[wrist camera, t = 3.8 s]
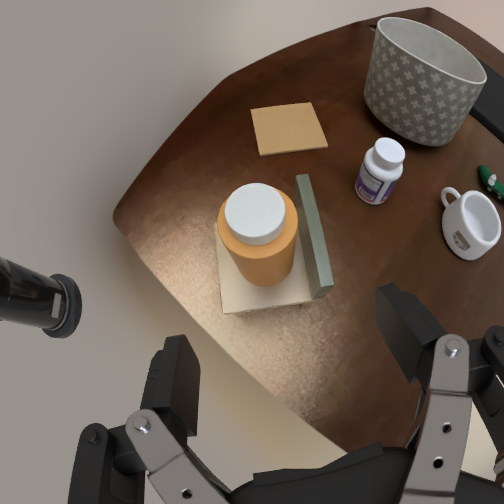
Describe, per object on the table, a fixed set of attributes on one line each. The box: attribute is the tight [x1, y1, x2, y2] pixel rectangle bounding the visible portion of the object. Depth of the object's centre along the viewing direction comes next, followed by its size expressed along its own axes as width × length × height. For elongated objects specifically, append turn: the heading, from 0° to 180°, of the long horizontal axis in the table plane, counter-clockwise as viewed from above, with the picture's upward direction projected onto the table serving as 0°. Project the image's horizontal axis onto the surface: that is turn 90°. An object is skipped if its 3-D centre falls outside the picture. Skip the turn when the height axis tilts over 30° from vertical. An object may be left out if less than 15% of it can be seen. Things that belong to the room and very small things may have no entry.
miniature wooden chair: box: [214, 174, 334, 318], centre depth 27 cm, size 9×9×16 cm
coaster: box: [251, 103, 328, 157], centre depth 42 cm, size 11×11×1 cm
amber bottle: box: [217, 183, 298, 286], centre depth 21 cm, size 5×5×10 cm
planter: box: [364, 17, 487, 146], centre depth 33 cm, size 19×19×18 cm
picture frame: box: [469, 55, 504, 144], centre depth 43 cm, size 40×2×33 cm
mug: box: [441, 187, 501, 260], centre depth 31 cm, size 12×10×6 cm
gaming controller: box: [479, 165, 504, 200], centre depth 34 cm, size 9×4×6 cm
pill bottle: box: [355, 138, 405, 204], centre depth 33 cm, size 5×5×10 cm
